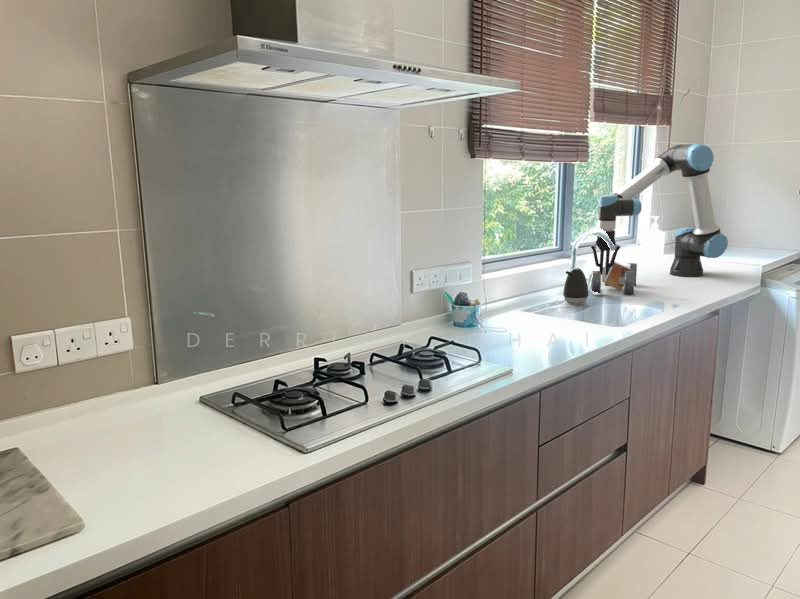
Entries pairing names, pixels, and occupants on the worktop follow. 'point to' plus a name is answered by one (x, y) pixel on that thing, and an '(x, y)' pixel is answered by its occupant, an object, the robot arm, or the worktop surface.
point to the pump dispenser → (575, 287)
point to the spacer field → (628, 285)
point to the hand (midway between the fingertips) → (603, 281)
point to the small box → (616, 276)
